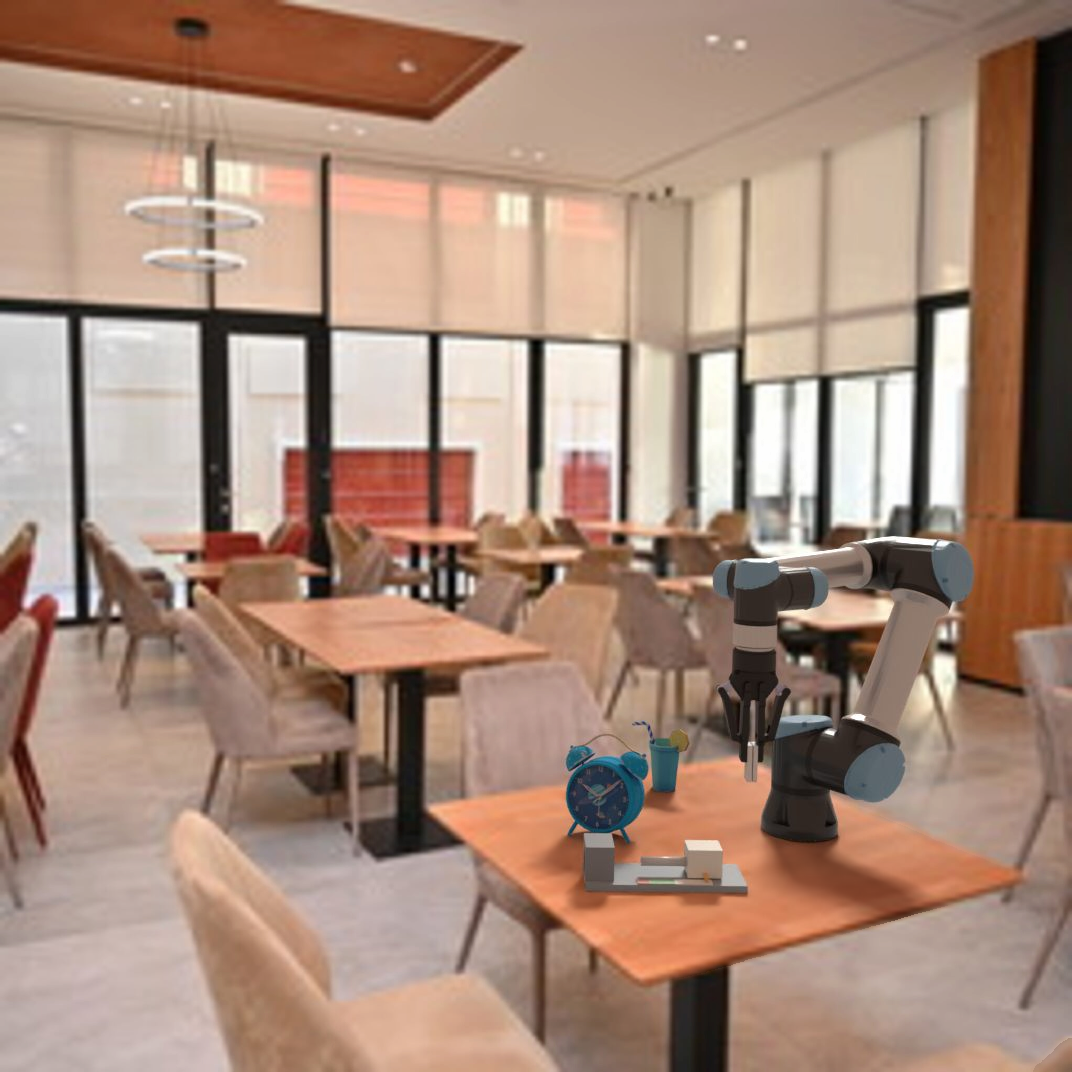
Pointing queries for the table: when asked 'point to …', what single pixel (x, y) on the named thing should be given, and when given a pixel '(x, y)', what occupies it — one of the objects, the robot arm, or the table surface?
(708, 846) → the plunger
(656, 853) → the table surface
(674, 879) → the gauge board
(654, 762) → the cup
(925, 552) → the robot arm
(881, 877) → the table surface
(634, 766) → the alarm clock
